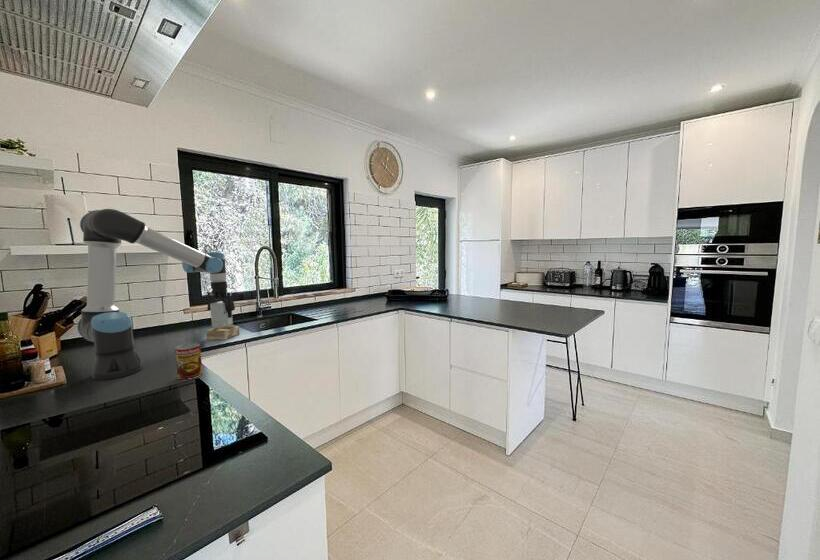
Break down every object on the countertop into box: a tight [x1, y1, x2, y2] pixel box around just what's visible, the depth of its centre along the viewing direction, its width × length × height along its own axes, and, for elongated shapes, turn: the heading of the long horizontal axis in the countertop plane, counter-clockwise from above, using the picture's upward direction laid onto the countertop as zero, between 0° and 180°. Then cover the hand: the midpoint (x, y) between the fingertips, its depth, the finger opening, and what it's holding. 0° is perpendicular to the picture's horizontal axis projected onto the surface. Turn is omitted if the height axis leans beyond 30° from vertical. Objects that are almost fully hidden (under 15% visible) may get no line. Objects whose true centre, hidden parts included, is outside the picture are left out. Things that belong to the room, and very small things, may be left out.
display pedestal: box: [205, 325, 240, 340], centre depth 184 cm, size 11×11×4 cm
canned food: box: [174, 342, 203, 380], centre depth 130 cm, size 8×8×12 cm
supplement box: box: [210, 300, 234, 328], centre depth 182 cm, size 7×7×13 cm
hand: (222, 323), depth 183 cm, fingers closed on supplement box, 7 cm apart
